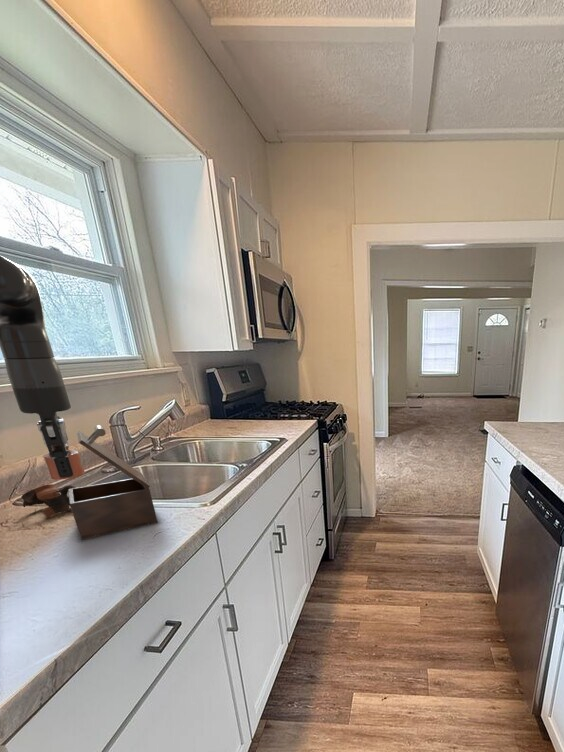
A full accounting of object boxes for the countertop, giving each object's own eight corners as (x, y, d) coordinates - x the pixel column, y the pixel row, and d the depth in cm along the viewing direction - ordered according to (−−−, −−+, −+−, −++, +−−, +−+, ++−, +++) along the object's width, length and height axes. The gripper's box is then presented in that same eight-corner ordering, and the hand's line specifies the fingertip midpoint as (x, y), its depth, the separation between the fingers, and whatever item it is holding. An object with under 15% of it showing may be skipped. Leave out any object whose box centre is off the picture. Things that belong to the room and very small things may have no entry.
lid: (78, 442, 85) (96, 425, 86) (76, 433, 95) (92, 418, 95) (147, 488, 96) (162, 473, 97) (140, 476, 105) (153, 462, 106)
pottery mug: (34, 523, 101) (13, 495, 99) (41, 527, 109) (21, 501, 107) (85, 500, 107) (66, 473, 105) (89, 505, 115) (71, 480, 113)
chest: (81, 539, 91) (69, 503, 87) (79, 522, 100) (68, 488, 97) (157, 522, 99) (149, 489, 96) (149, 507, 109) (141, 476, 105)
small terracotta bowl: (57, 481, 76) (49, 458, 75) (45, 476, 79) (38, 454, 78) (89, 474, 81) (83, 452, 79) (77, 469, 84) (71, 448, 82)
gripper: (63, 386, 70) (91, 478, 76) (64, 380, 81) (88, 462, 87) (7, 389, 66) (41, 486, 72) (15, 383, 77) (44, 468, 83)
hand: (66, 472), depth 80 cm, fingers closed on small terracotta bowl, 5 cm apart
